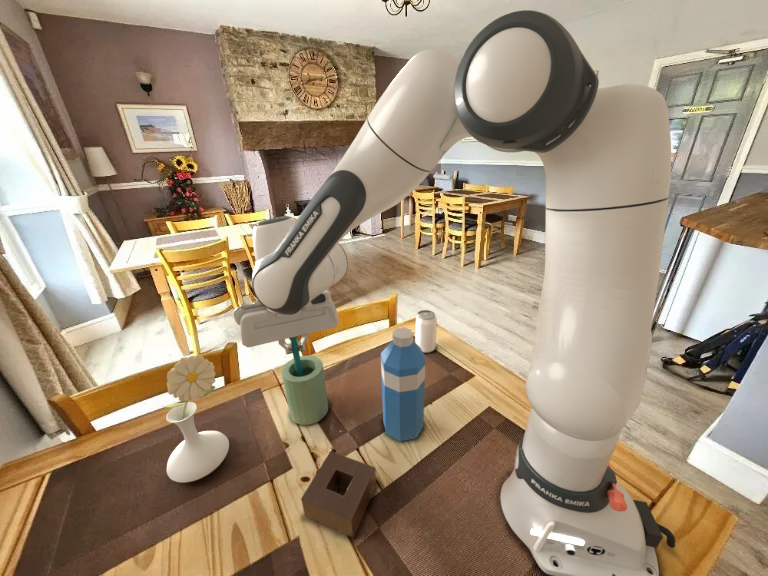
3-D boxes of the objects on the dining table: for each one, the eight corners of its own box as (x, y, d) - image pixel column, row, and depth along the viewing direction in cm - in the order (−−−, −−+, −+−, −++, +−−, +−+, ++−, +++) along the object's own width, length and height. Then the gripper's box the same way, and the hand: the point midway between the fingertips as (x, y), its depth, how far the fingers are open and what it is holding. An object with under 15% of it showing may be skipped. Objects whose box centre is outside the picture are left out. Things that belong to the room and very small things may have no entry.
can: (424, 339, 103) (425, 307, 98) (439, 347, 99) (441, 314, 94) (410, 346, 99) (411, 314, 94) (425, 356, 95) (427, 322, 90)
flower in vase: (169, 500, 58) (118, 398, 47) (168, 454, 66) (125, 359, 56) (243, 463, 64) (213, 366, 54) (233, 425, 73) (205, 336, 62)
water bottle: (421, 444, 67) (424, 349, 56) (379, 438, 69) (374, 344, 58) (424, 411, 75) (428, 322, 65) (387, 406, 77) (384, 319, 67)
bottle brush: (311, 395, 76) (301, 330, 68) (305, 403, 74) (293, 337, 66) (302, 392, 77) (291, 328, 69) (295, 400, 75) (283, 334, 67)
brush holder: (376, 484, 59) (375, 467, 57) (353, 538, 51) (351, 520, 49) (332, 467, 63) (330, 450, 60) (304, 516, 55) (301, 498, 52)
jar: (335, 401, 79) (330, 360, 73) (314, 429, 71) (307, 385, 66) (304, 392, 82) (297, 352, 77) (282, 418, 74) (272, 375, 69)
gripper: (231, 313, 58) (246, 372, 64) (337, 292, 65) (342, 347, 71) (231, 299, 63) (245, 355, 69) (330, 281, 70) (335, 333, 76)
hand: (295, 351), depth 70 cm, fingers closed on bottle brush
